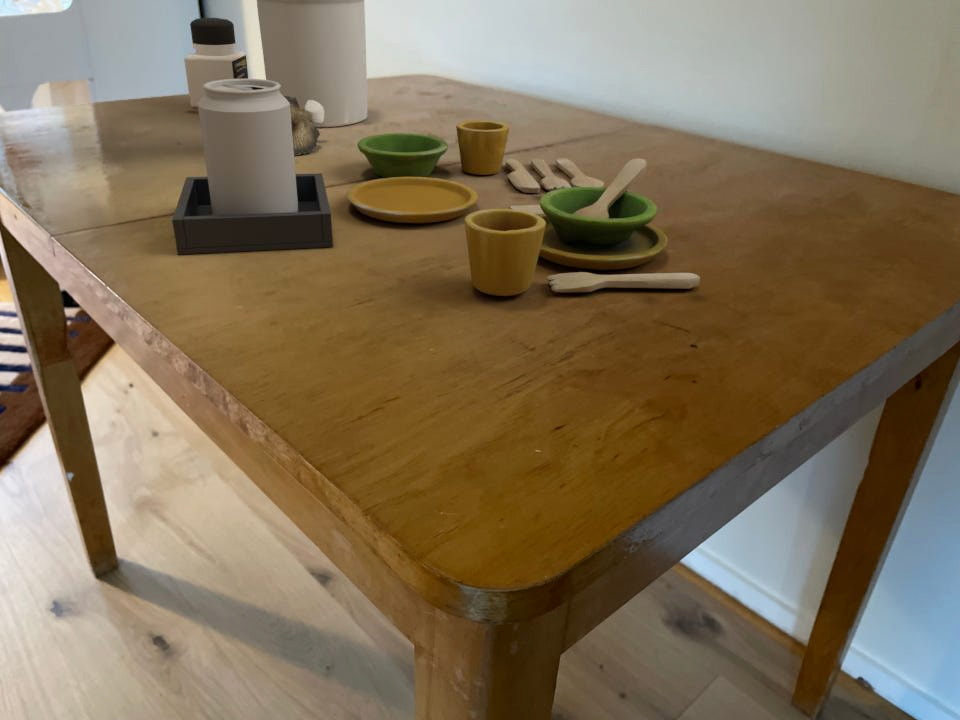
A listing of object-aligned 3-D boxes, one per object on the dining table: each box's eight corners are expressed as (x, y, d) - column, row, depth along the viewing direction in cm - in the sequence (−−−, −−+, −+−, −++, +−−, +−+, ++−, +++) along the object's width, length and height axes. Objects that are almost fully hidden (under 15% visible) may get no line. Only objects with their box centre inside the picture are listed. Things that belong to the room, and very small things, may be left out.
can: (315, 222, 71) (306, 84, 65) (243, 241, 66) (225, 93, 60) (268, 203, 75) (255, 72, 69) (197, 219, 70) (177, 80, 65)
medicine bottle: (238, 109, 116) (228, 21, 110) (190, 107, 116) (177, 19, 110) (251, 100, 122) (242, 17, 116) (205, 98, 122) (194, 15, 116)
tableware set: (715, 298, 60) (730, 219, 57) (349, 311, 56) (345, 226, 53) (575, 161, 96) (580, 107, 93) (345, 162, 91) (342, 106, 88)
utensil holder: (322, 134, 104) (313, -12, 95) (243, 118, 110) (228, -19, 102) (391, 116, 115) (388, -15, 106) (315, 103, 121) (307, -22, 113)
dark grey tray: (177, 254, 64) (172, 219, 63) (190, 207, 75) (186, 177, 73) (332, 247, 67) (330, 213, 65) (324, 203, 78) (322, 173, 76)
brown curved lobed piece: (257, 128, 100) (244, 131, 91) (285, 80, 98) (274, 77, 90) (309, 162, 102) (301, 168, 93) (338, 115, 100) (332, 116, 92)
